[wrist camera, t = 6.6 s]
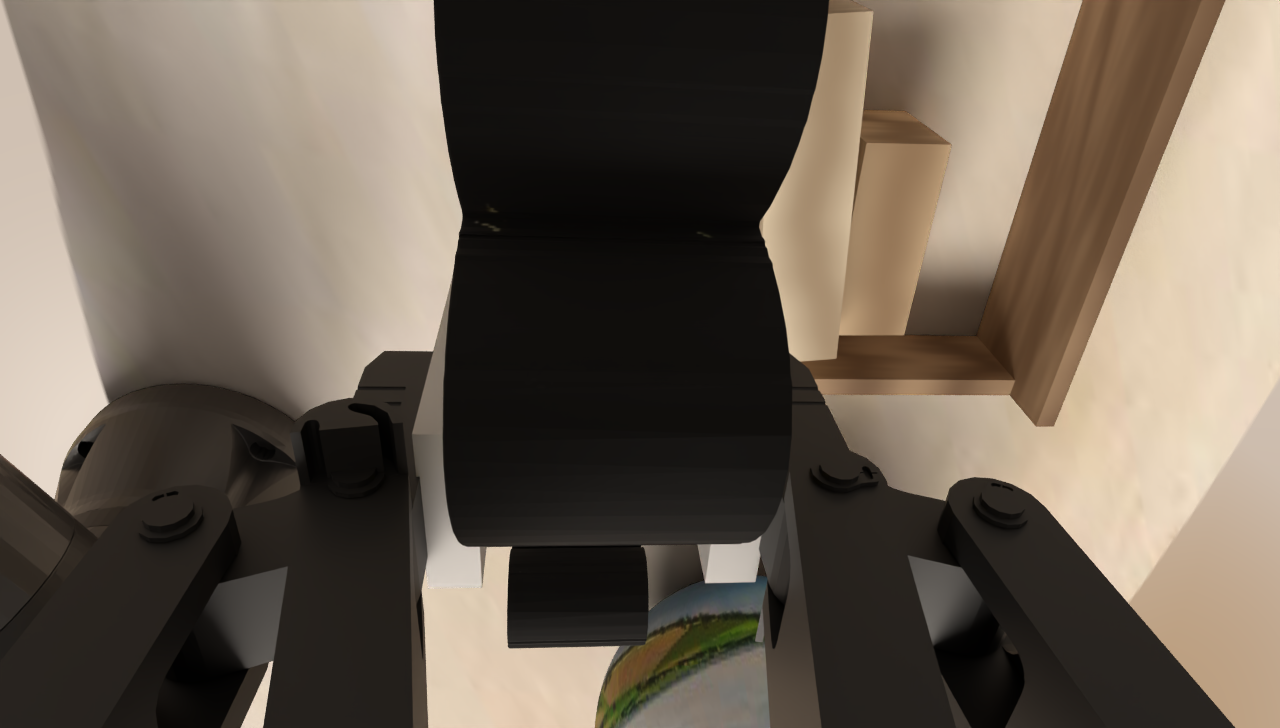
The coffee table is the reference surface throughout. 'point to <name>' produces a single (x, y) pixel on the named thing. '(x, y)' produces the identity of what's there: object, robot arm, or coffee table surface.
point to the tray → (1057, 218)
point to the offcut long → (821, 191)
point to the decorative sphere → (693, 664)
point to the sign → (616, 289)
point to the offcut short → (890, 220)
